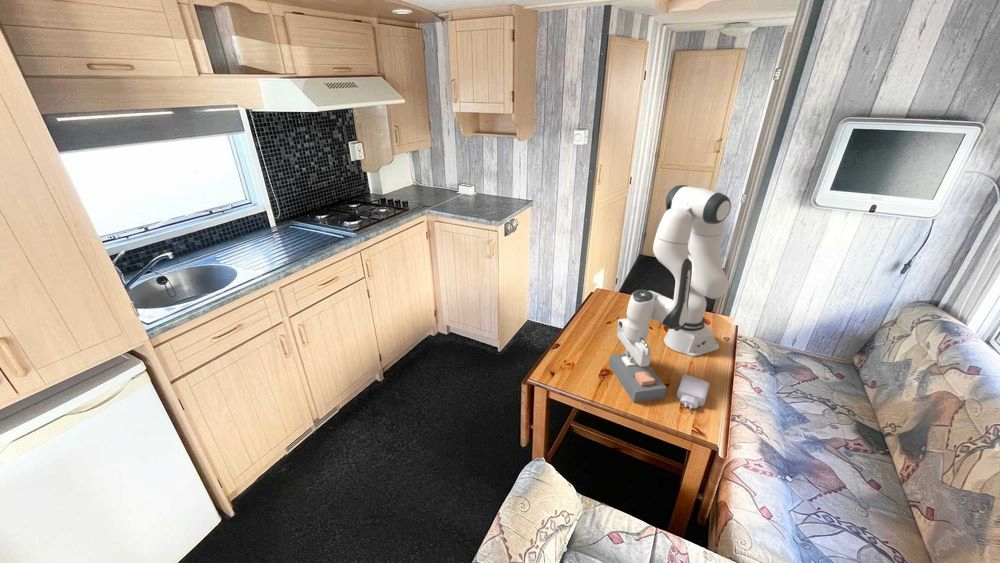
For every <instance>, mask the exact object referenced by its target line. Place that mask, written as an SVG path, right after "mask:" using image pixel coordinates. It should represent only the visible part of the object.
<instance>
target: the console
mask: <svg viewBox="0 0 1000 563" xmlns="http://www.w3.org/2000/svg"><path fill="white" fill-rule="evenodd" d="M609 356H610V358H609V362H608V365H609V367H610V369H611V370H612V372H613V373H614V374H613V375H615V377H616V378H617V379H618V381H619V383H620V384H621V386H622V387H623V389H624V390H625V392H626V394H627V395H628V397H629V398H630V399H631V401H632V402H633V403H639V402H646V401H653V400H660V399H665V396H666V391H667V386H666V385H665V384H664V383H663V381H662V380H661V378H660V377H659V376H658V375H657V373H655V371H654V370H653V368H651V366H650V364H649V365H648V366H642V367H640V366H632V367H626V365H625V364H624V362H623V361H622V360H621V358H622V357H626V356H627V353H619V354H618V353H617V354H610V355H609ZM644 371H648V372H649V373H650V374H651V375H652V377H653V378H654V379H655V382H654V385H651V386H644V387H641V386H640V385H639V384H638V382H637V381H636V379H635V373H636V372H644Z"/></svg>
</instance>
